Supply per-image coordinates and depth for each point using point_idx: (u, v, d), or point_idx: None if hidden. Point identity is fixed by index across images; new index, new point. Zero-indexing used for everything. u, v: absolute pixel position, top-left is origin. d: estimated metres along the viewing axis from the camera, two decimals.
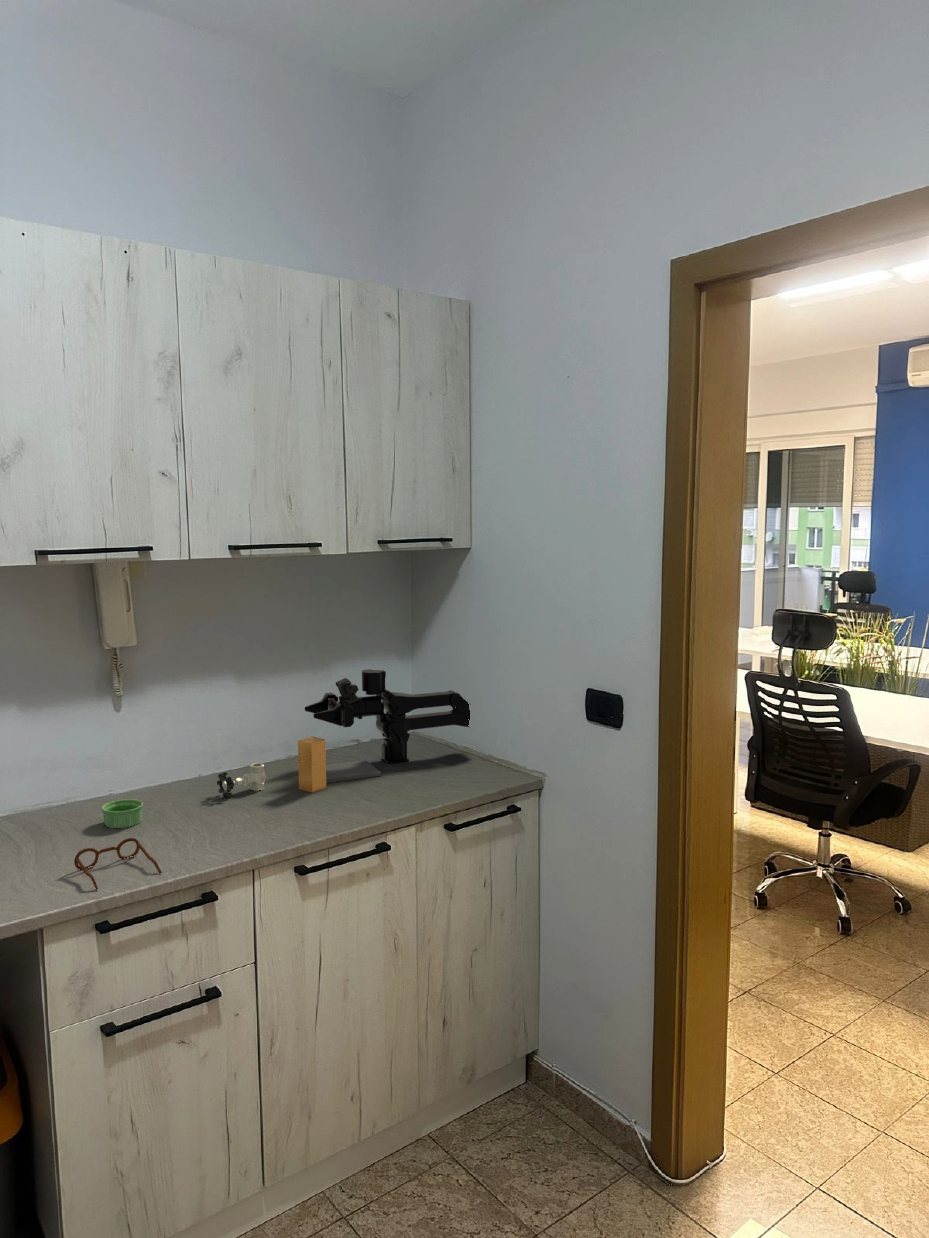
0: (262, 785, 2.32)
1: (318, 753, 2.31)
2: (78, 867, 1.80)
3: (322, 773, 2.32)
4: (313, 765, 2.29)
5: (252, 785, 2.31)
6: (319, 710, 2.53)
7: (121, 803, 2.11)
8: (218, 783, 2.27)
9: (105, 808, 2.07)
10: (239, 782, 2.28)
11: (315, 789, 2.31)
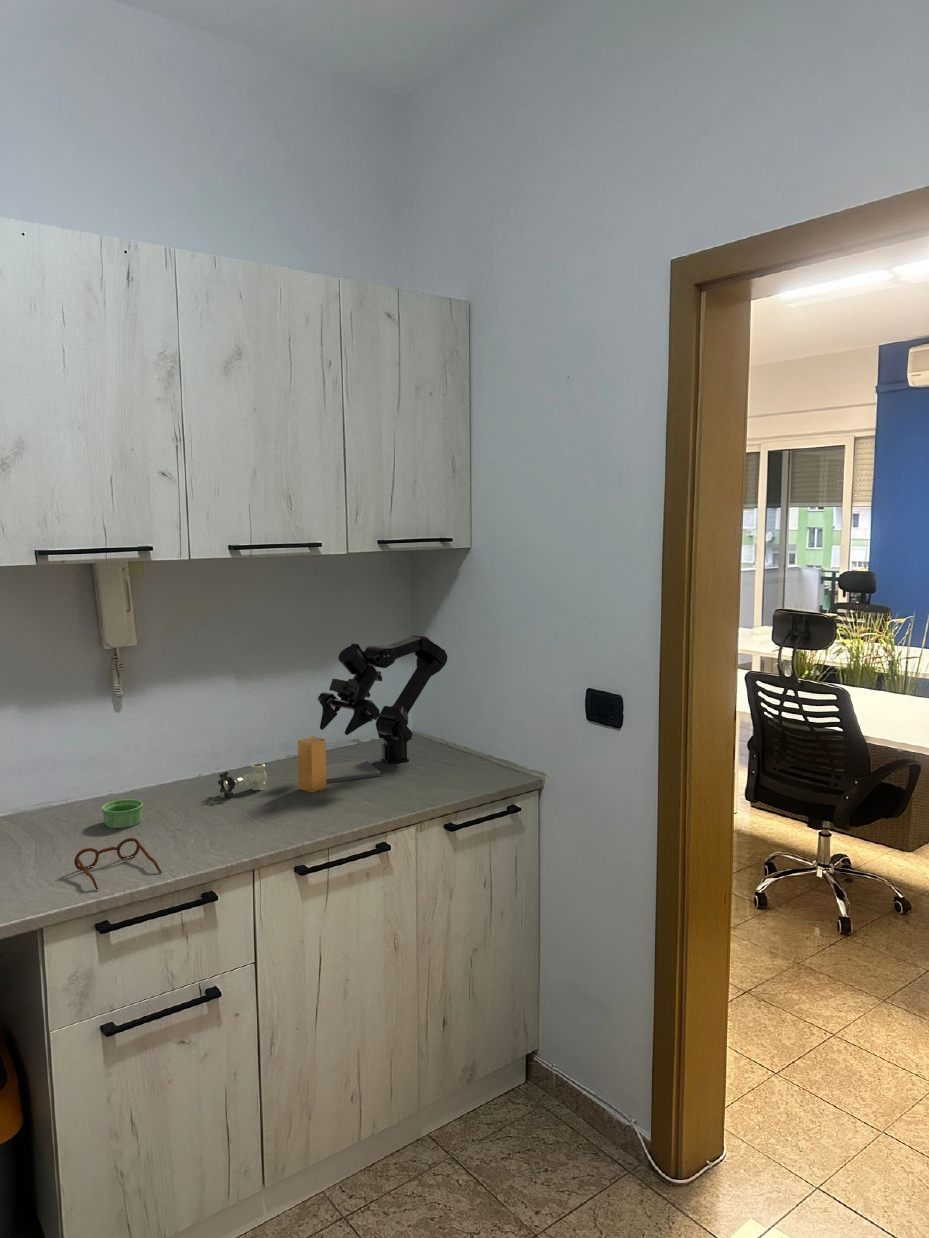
0: (263, 785, 2.32)
1: (318, 753, 2.31)
2: (78, 867, 1.80)
3: (322, 773, 2.32)
4: (313, 765, 2.29)
5: (253, 785, 2.31)
6: (330, 717, 2.44)
7: (121, 803, 2.11)
8: (219, 783, 2.27)
9: (105, 808, 2.07)
10: (240, 782, 2.28)
11: (315, 789, 2.31)
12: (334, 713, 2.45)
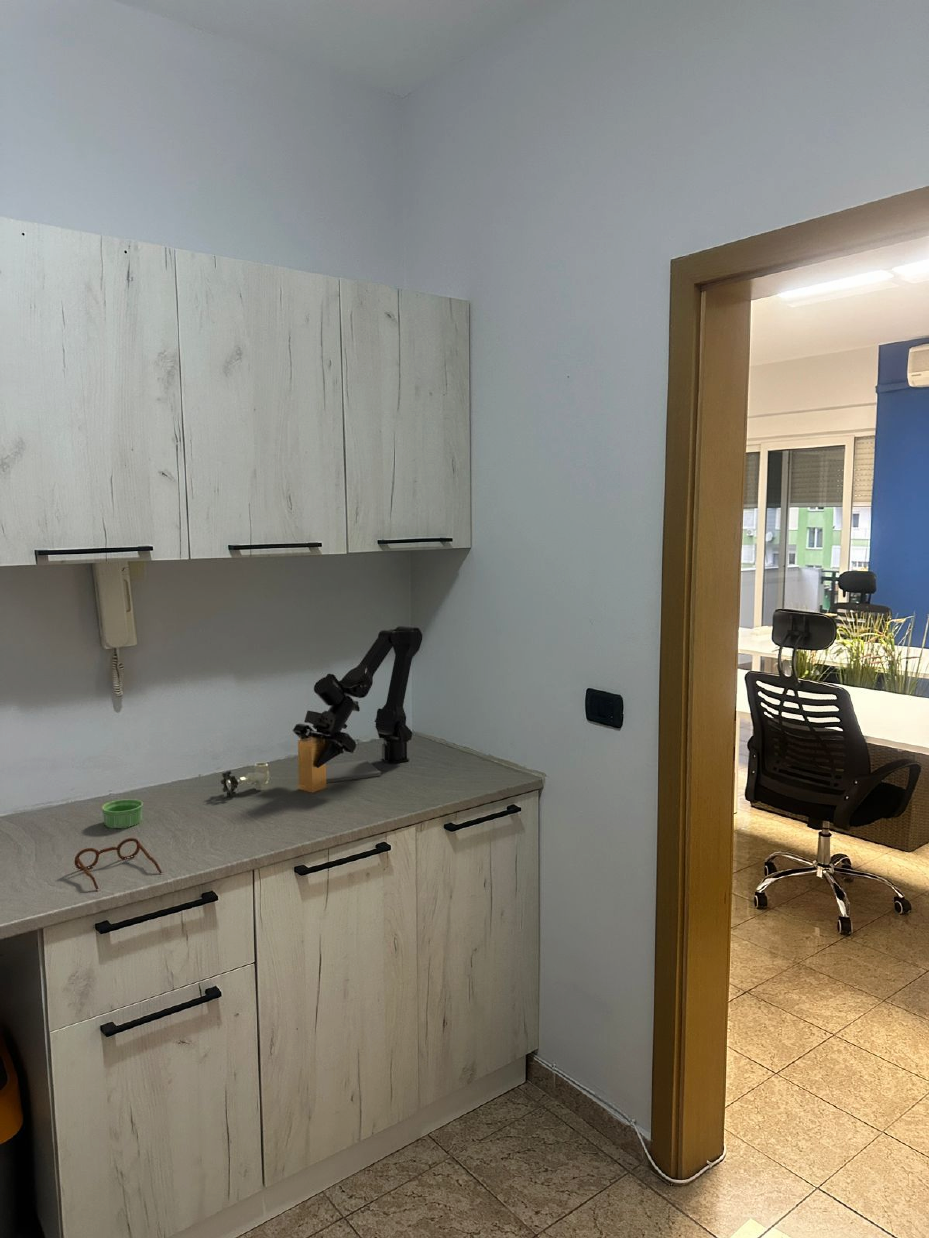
0: (266, 784, 2.32)
1: (318, 753, 2.31)
2: (78, 867, 1.80)
3: (322, 773, 2.32)
4: (313, 765, 2.29)
5: (256, 784, 2.32)
6: None
7: (121, 803, 2.11)
8: (222, 782, 2.28)
9: (105, 808, 2.07)
10: (243, 781, 2.29)
11: (315, 789, 2.31)
12: None
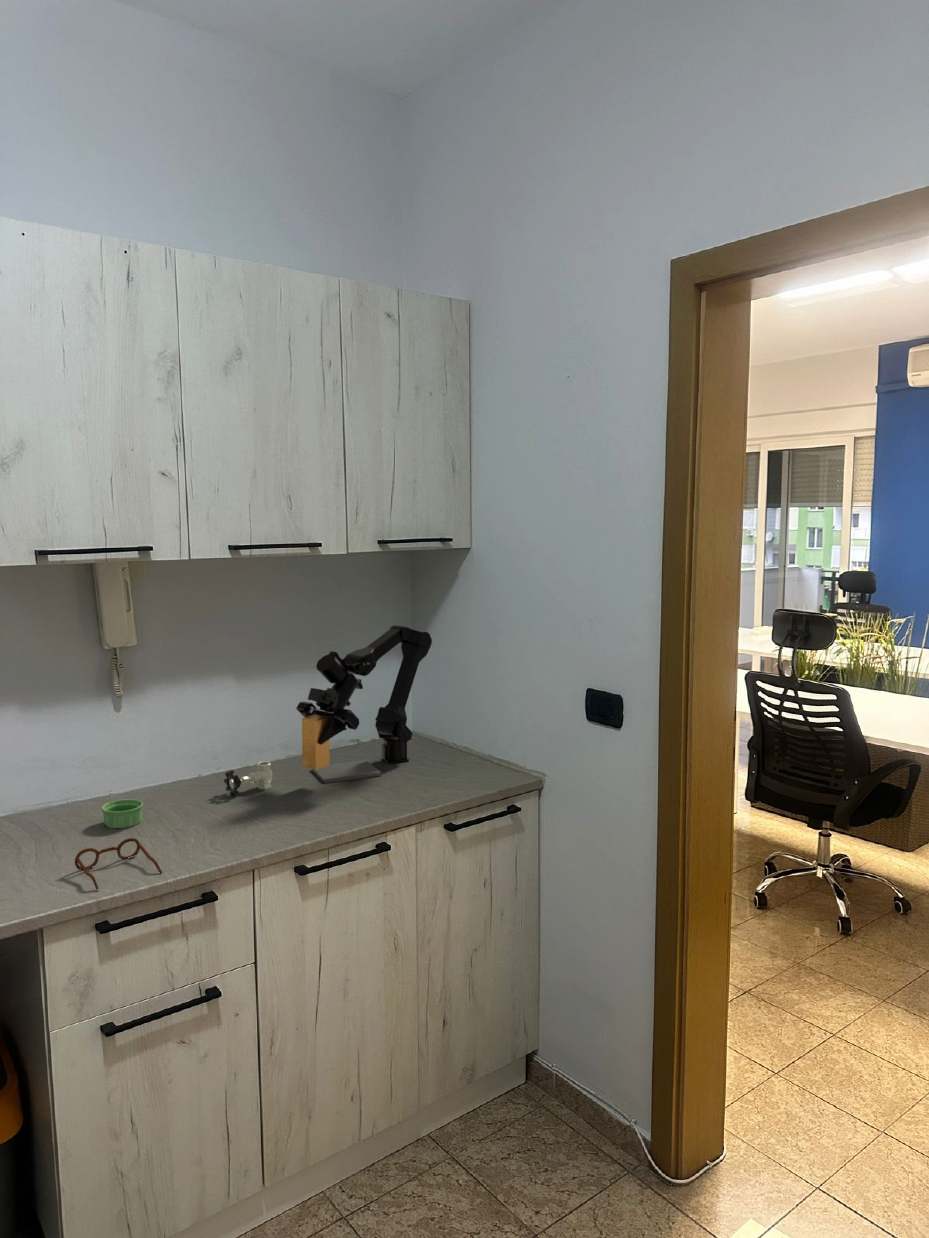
0: (269, 783, 2.33)
1: (322, 731, 2.32)
2: (78, 867, 1.80)
3: (326, 751, 2.34)
4: (316, 742, 2.31)
5: (259, 783, 2.33)
6: None
7: (121, 803, 2.11)
8: (225, 781, 2.29)
9: (105, 808, 2.07)
10: (246, 780, 2.29)
11: (318, 766, 2.32)
12: None
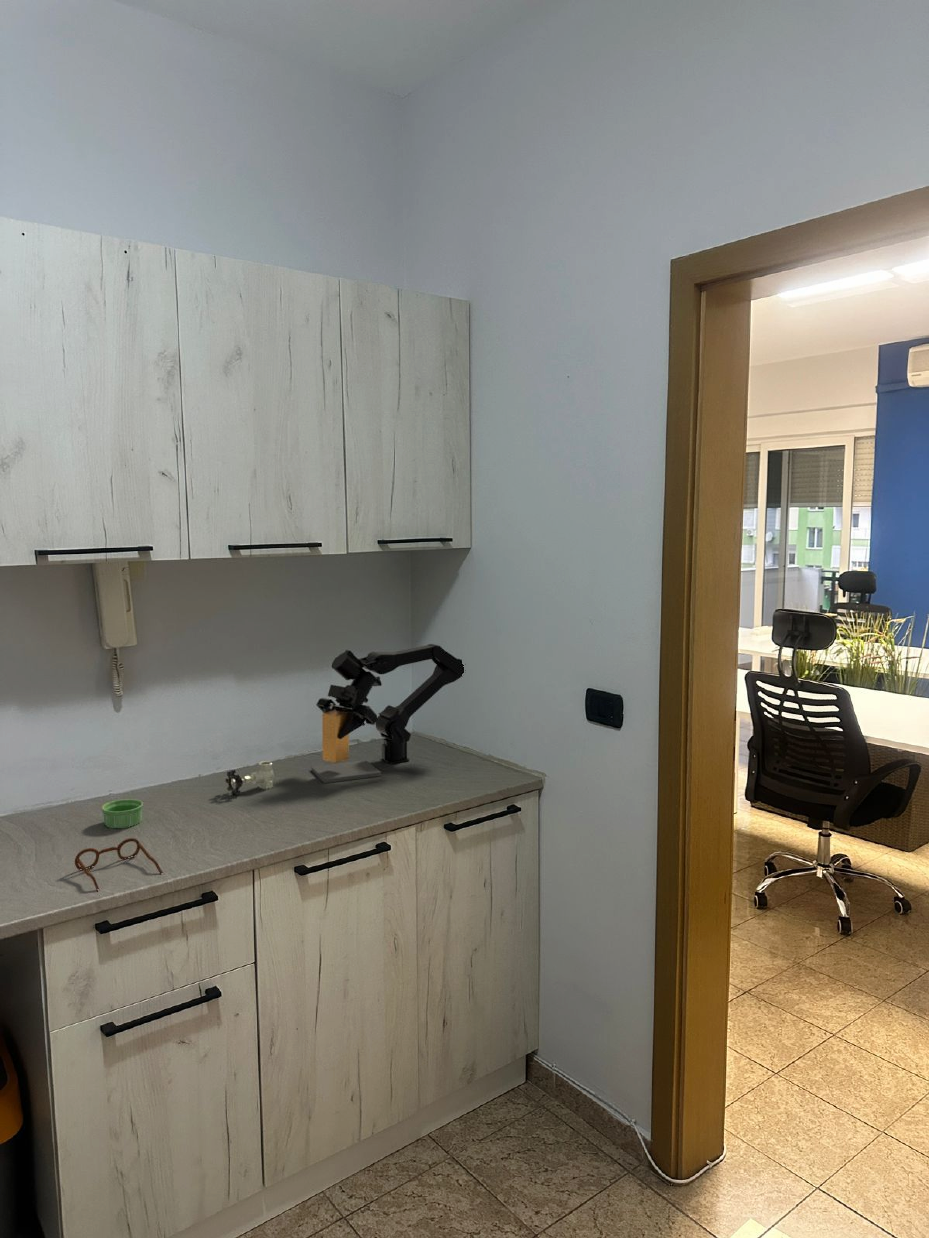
0: (270, 783, 2.33)
1: (341, 726, 2.42)
2: (78, 867, 1.80)
3: (345, 745, 2.44)
4: (336, 737, 2.41)
5: (260, 783, 2.33)
6: None
7: (121, 803, 2.11)
8: (227, 781, 2.29)
9: (105, 808, 2.07)
10: (247, 780, 2.29)
11: (338, 760, 2.42)
12: None
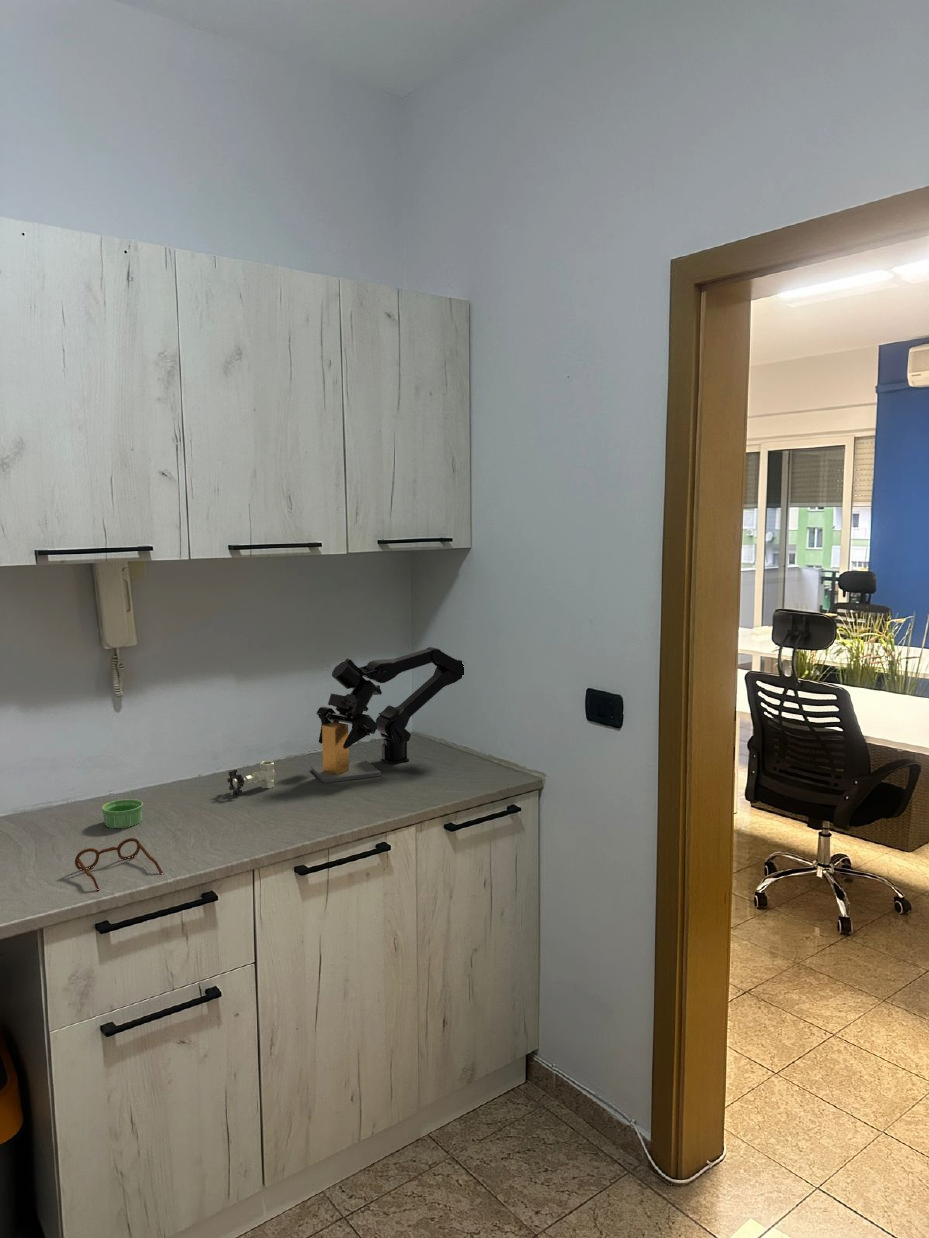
0: (272, 783, 2.34)
1: (341, 737, 2.42)
2: (79, 867, 1.80)
3: (345, 757, 2.44)
4: (336, 748, 2.41)
5: (262, 783, 2.33)
6: None
7: (121, 803, 2.11)
8: (228, 781, 2.29)
9: (105, 808, 2.07)
10: (249, 780, 2.30)
11: (338, 772, 2.43)
12: None
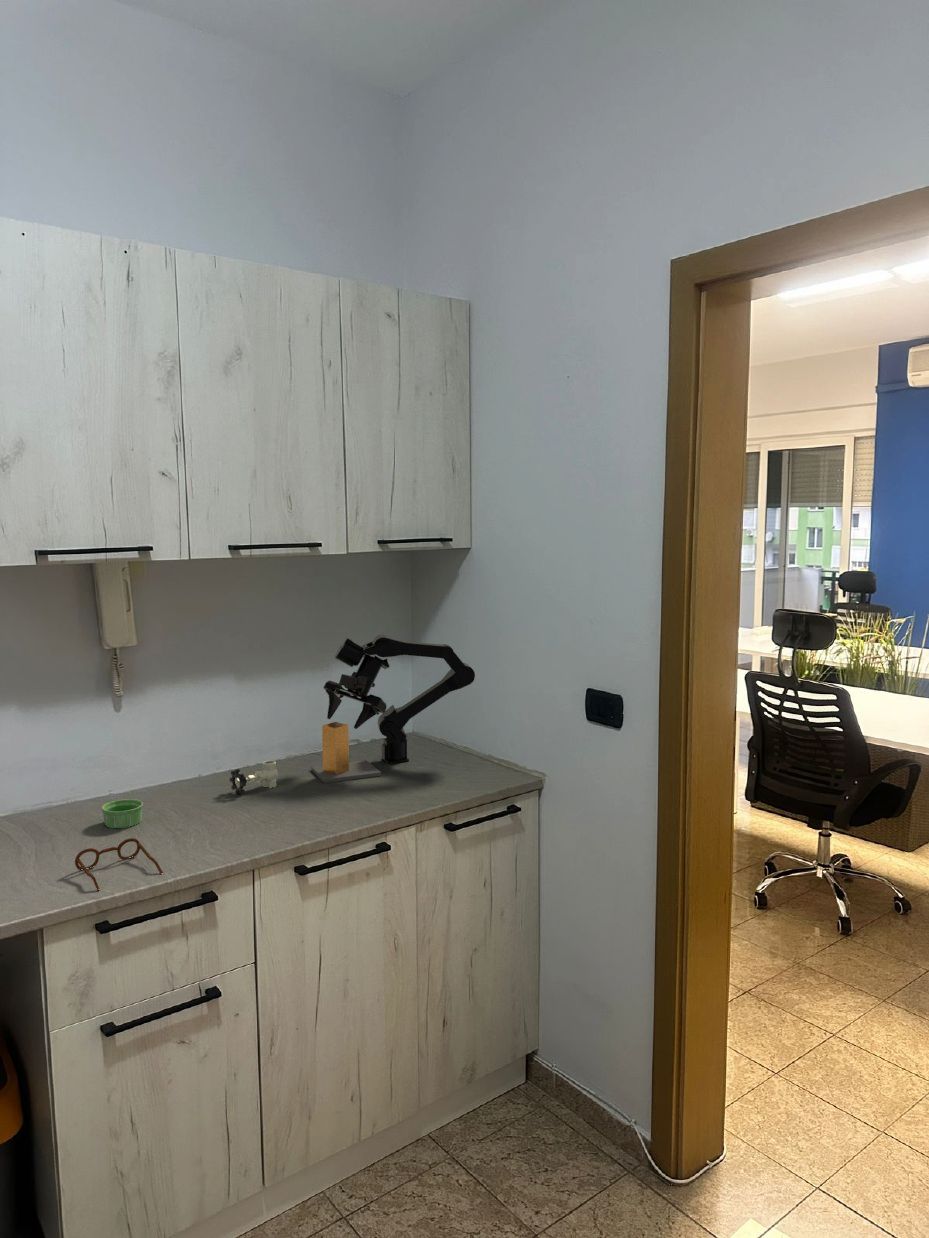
0: (274, 782, 2.34)
1: (341, 737, 2.42)
2: (79, 867, 1.80)
3: (345, 757, 2.44)
4: (336, 748, 2.41)
5: (264, 782, 2.34)
6: (336, 706, 2.53)
7: (121, 803, 2.11)
8: (231, 780, 2.30)
9: (105, 808, 2.07)
10: (251, 779, 2.30)
11: (338, 772, 2.43)
12: (339, 701, 2.55)
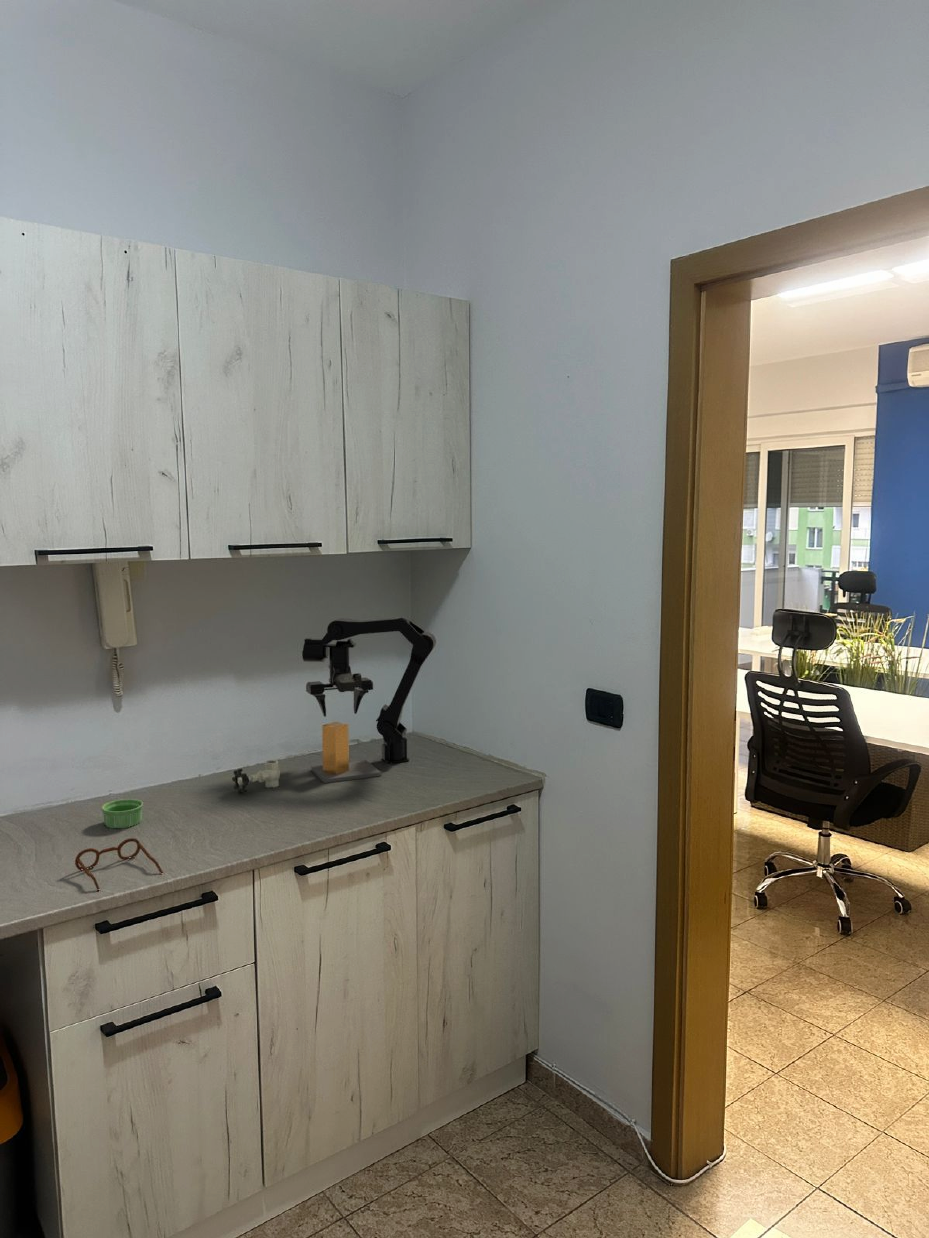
0: (276, 782, 2.35)
1: (341, 737, 2.42)
2: (79, 868, 1.80)
3: (345, 757, 2.44)
4: (336, 748, 2.41)
5: (267, 782, 2.34)
6: None
7: (121, 803, 2.11)
8: (233, 779, 2.30)
9: (105, 808, 2.07)
10: (254, 778, 2.31)
11: (338, 772, 2.43)
12: None
